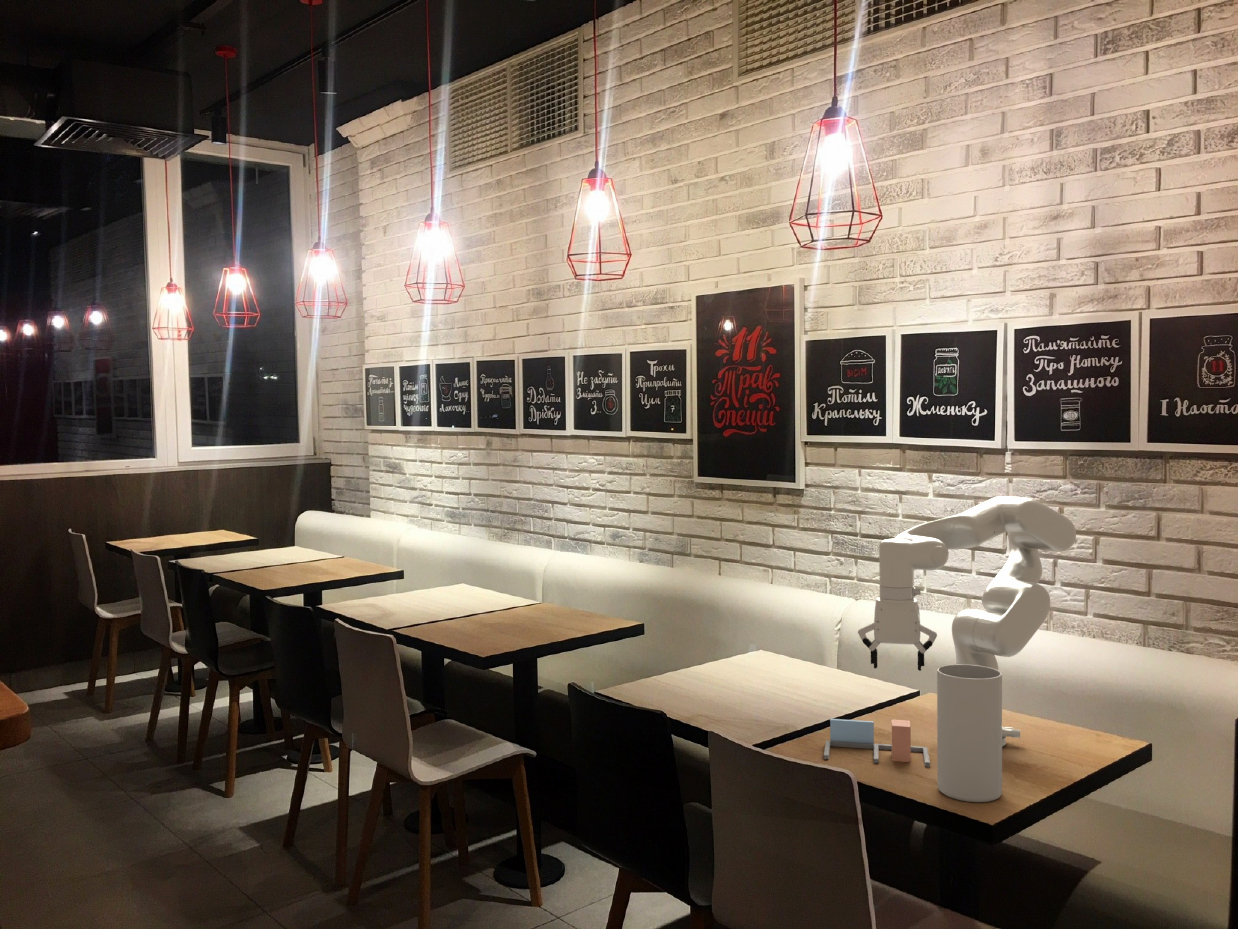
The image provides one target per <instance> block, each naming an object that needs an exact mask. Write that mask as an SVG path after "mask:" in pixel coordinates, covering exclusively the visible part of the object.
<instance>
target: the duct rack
mask: <svg viewBox="0 0 1238 929" xmlns="http://www.w3.org/2000/svg"><path fill="white" fill-rule="evenodd" d="M829 722H830V724H829V725H830V729H829V730H830V734H829V735H830V736H829V737H830V740H827V739H826V740H825V746H824V753H823V760H824V759H825V761H827V760H826V759H828V760H829V759H830V751H831V747H838V748H839V747H840V748H854V749H867V750H868V749H869V750H870V749H871V750H873V763H874V764H879V750H882V749H883V750H882V751H884V750H885V751H892V744H888V743H886V744H885V743H875V741H874V740H875V725H874V724H875V722H874V721H873V720H872V721H871V720H855V719H840V718H830V720H829ZM912 752H913V753H922V755H923V760H924V767H927V768H930V767H931V761H930V756H929V749H928V746H918V745H917V746H915V745H911V753H912Z"/></svg>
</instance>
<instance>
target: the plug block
mask: <svg viewBox="0 0 1238 929" xmlns="http://www.w3.org/2000/svg"><path fill="white" fill-rule="evenodd" d="M911 731H912V730H911V721H910V720H907V719H905V720H904V719H891V745H892V750H891V761H892V762H903V763H904V762H905V763H911V761H912V759H911V758H912V757H911V756H912V754H911V753H912V752H911V746H912V744H911V741H912V739H911V733H912V732H911Z"/></svg>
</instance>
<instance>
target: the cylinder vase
mask: <svg viewBox="0 0 1238 929" xmlns="http://www.w3.org/2000/svg"><path fill="white" fill-rule="evenodd" d="M936 679H937V680H936V707H937V708H936V714H937V715H936V716H937V717H936V727H937V728H936V729H937V733H936V734H937V736H936V739H937V742H936V744H937V750H936V751H937V752H936V754H937V756H936V757H937V758H936V759H937V762H936V763H937V765H936V767H937V768H936V771H937V783H936V784H937V788H938V790H939V792H940V793H942V794H943V795H945V796H947V797H949V798H951V799H954V800H957V801H962V802H969V803H988V802H993V801H996V800H997V799H999V798H1000V797H1001V796H1002V794H1003V747H1002V727H1003V673H1002V672H1001V671H1000V670H999V671H998V670H996V669H993V668H989V667H985V666H978V665H966V664H955V663H954V664H945V665H942V666H939V667H938V668H936Z"/></svg>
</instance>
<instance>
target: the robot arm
mask: <svg viewBox="0 0 1238 929" xmlns="http://www.w3.org/2000/svg"><path fill="white" fill-rule="evenodd" d="M1004 533H1007V538H1008V546H1009V555H1008V559H1007V561H1006V563H1005V564H1004V565H1003V566H1002V568H1001V569H1000V570H999V572H998V573H997V574H996V576H995V577H993V579H992V581H991V582H990V583H989V584H988V586H986V589H985V590H984V592H983V594H982V596H981V604H982V607H983V608H984V609H985V610H983V609H979V608H978V609H977V608H967V609H963V610H961V611H960V612H958V613H957V614H956V615H955V616H954V619H953V620H952V624H951V635H952V636H951V637H952V640H953V644H954V651H955V662H956V664H966V665H978V666H985V667H989V668H993V669H996V670H998V671H1000V670H999V665H998V664H999V663H998V661H997V658H996V656H998V657H1002V658H1010V657H1015V656H1016V655H1019V653H1020V652H1022V650H1023V649H1024V648H1025V647H1026V646H1027V644H1028V643H1029V641H1031V639H1032V638H1033V636H1034V635H1035V634H1036V632H1037V631H1038V630H1039V629H1040V627H1041V626H1042V625H1043V624H1044V622H1045V621H1046V620H1047V617H1048V615H1049V613H1050V609H1051V597H1050V594H1049V592H1048V590H1047V589H1046V588H1045V587H1044V586H1042V585H1041V584H1039V582H1040V580H1041V578H1042V575H1043V566H1042V562H1041V558H1040V554H1039V550H1040V551H1041V550H1042V551H1047V552H1057V553H1059V552H1060V553H1061V552H1064V551H1067V550H1070V549H1071V547H1072V546H1074V544H1075V541H1076V538H1077V530H1076V527H1075V525H1074V523H1073V522H1072V521H1071V520H1070V518H1069V517H1068V516H1065V515H1064V514H1062V513H1060V512H1058V511H1057V510H1055V509H1053V508H1051V507H1049V506H1047V505H1046V504H1044V503H1042V502H1039V500H1035V499H1034V498H1031V497H1021V496H1009V495H1001V496H996V497H992V498H990V499H988V500H985V501H984V502H982V503H980V504H977V505H975V506H973V507H971V508H968V509H966V510H965V511H963V512H961V513H958V514H955V515H951V516H946V517H943V518H940V519H936V520H932V521H927V522H924V523H922V524H918V525H915V526H914V527H911V528H908V529H907V530H904V531H902V532H901V533H900V534H898V535H896V536H895V537H894V538H888V539H883V540H881V542H879V548H878V551H879V557H878V558H879V560H878V561H879V562H878V564H879V566H878V567H879V568H878V569H879V597H876V600H875V606H874V615H873V616H874V619H873V621H874V622H873V623H870V624H868V625H866V626H864V627H862V628H860V629H858V631H857V634H858V636H859V638H860V640H861V642H862V643H863V645H865V646H866V648H868V649H869V651H870V664H871V665H873V669H878V649H877V648H878V647H879V645H880V644H890V645H911V646H912V645H914V646H915V647H916V649H917V650H918V651H917V671H919V672H922V667H925V653H926V652H927V650H929V649H930V648H931V647H932V646H933V644H934V642H935V640H936V639H937V637H938V634H937V632H936V631H934V630H932V629H930V628H928V627H926V626H924V625H922V624H921V617H920V606H919V602H918V599H917V598H915V597H916V596H921V588H916V587H915V586H914V585H915V584H914V583H915V573H914V571H917V570H919V571H936V570H939V569H941V568H943V567H944V566H945V565H946V563H947V562H948V561H949V556H950V552H949V551H952V550H954V551H955V550H967V549H971V548H976V547H979V546H980V545H982V544H984V543H986V542H988V541H990V540H992V539H994V538H996V537H998V536H1000V535H1002V534H1004ZM872 631H873V635H874V636H873V637H874V638H873V640H872V641H871V640H870V639H869V638H868V637H867V635H866V634H867V633H870V632H872ZM921 632H922V633H923V634H925V635H926V636H928V638H927V640H926V641H925V642H924V643H923V642H922V641H921ZM1007 737H1008V738H1014V739H1015V738H1017V739H1018V738H1019V739H1020V738H1021V730H1020V729H1018V728H1017V729H1016V728H1014V727H1013V726H1002V748H1003V747H1004V746H1005V745H1006V744H1007V743H1006V742H1007V739H1006V738H1007Z"/></svg>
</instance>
